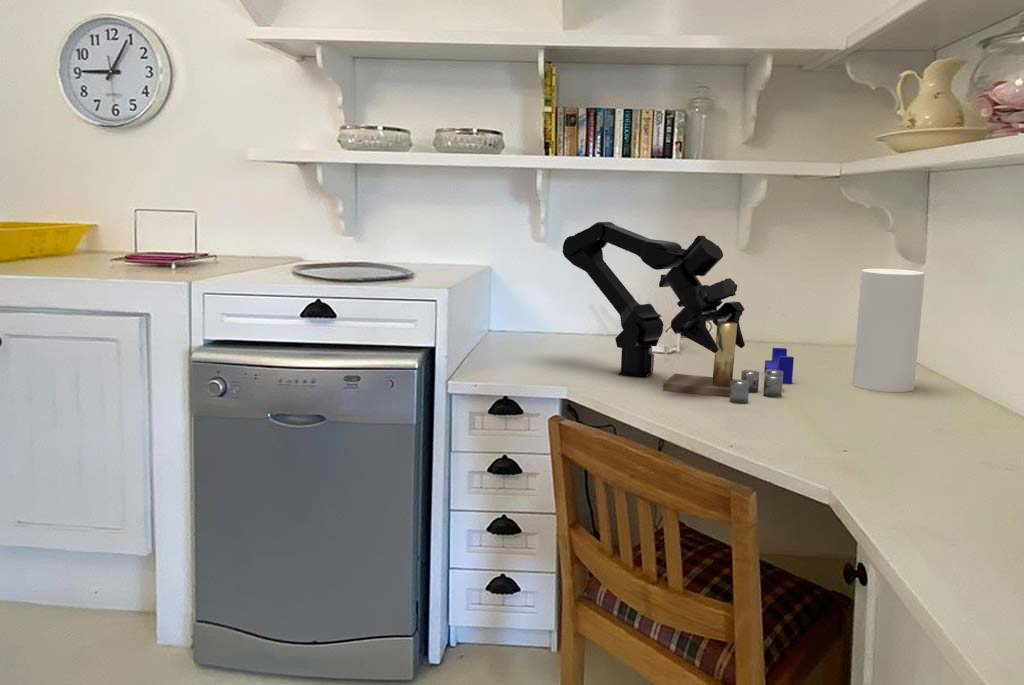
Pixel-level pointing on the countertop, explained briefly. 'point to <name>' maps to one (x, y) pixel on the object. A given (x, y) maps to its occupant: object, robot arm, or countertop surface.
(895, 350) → the cylinder
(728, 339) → the cylinder
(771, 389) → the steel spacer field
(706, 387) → the brown wooden board
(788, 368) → the cable clip
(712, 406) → the countertop surface
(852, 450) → the countertop surface
